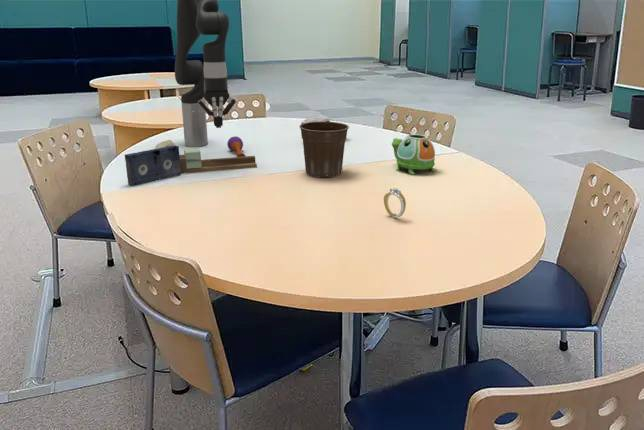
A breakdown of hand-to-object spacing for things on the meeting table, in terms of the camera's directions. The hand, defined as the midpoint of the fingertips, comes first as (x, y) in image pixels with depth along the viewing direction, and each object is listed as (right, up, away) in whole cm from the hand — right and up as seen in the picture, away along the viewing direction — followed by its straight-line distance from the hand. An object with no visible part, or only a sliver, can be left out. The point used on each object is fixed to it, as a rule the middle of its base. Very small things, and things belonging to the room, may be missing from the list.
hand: (218, 127), depth 203 cm
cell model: (+36, 0, +44) cm, 57 cm away
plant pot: (+36, -16, -2) cm, 40 cm away
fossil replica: (-21, -12, +10) cm, 26 cm away
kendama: (+4, -8, +22) cm, 24 cm away
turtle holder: (+66, -14, +2) cm, 68 cm away
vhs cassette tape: (-19, -19, -9) cm, 28 cm away
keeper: (-9, -13, +1) cm, 16 cm away
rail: (-1, -14, +4) cm, 14 cm away
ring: (+55, -31, -44) cm, 77 cm away
